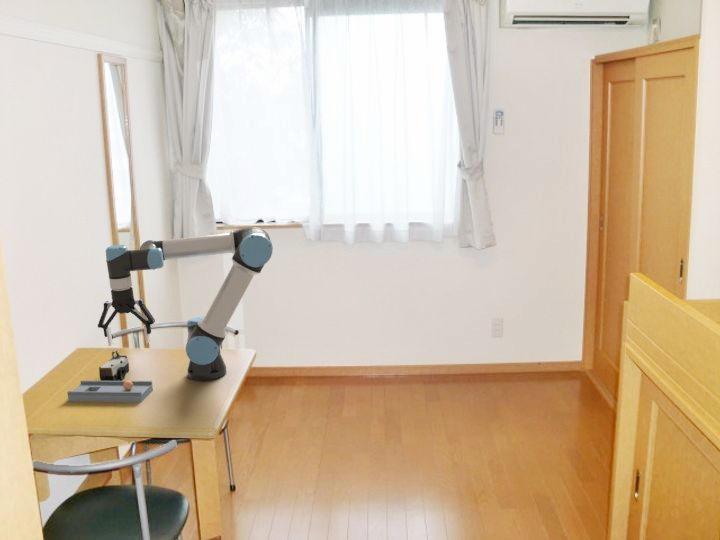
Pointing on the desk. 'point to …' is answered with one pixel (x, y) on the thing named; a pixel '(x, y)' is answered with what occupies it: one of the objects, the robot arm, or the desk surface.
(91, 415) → the desk surface
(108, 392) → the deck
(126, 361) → the camera
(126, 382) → the ball
